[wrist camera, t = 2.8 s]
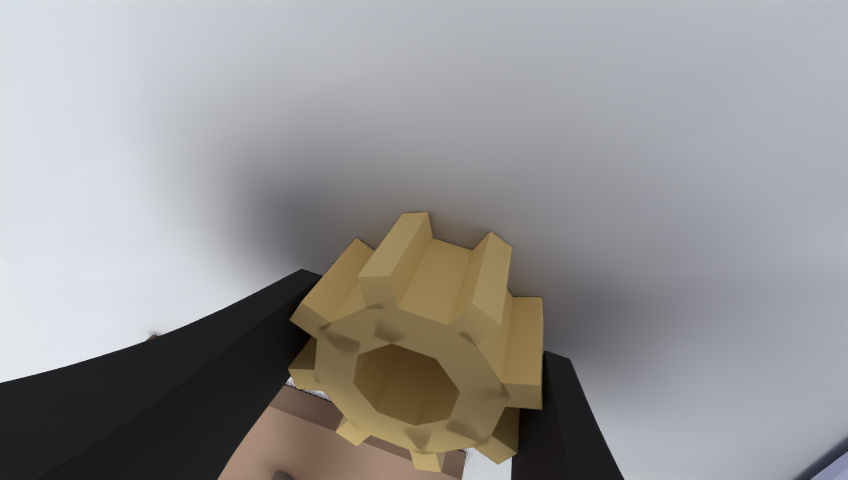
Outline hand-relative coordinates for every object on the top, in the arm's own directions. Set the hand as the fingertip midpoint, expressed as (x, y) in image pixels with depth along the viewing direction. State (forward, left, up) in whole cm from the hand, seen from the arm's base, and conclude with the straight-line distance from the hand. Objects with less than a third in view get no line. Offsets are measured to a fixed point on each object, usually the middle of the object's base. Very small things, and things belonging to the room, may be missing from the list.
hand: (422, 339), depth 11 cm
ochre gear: (0, 0, -1) cm, 1 cm away
